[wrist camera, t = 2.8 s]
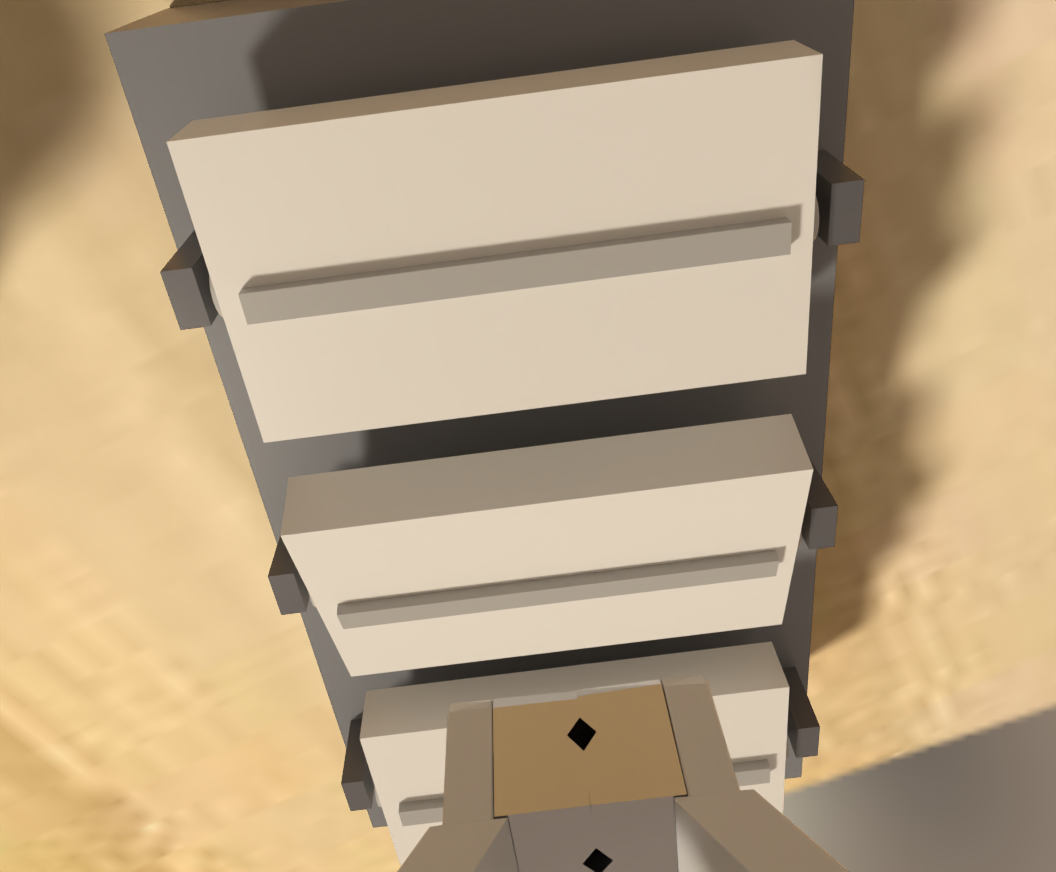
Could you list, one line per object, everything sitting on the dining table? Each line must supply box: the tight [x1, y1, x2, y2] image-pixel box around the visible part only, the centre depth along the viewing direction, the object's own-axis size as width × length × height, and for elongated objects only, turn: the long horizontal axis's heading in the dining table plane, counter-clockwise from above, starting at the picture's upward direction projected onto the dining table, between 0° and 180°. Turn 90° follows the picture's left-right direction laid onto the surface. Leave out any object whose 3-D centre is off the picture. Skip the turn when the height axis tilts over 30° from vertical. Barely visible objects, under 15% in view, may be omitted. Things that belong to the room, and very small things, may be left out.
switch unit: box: [105, 0, 864, 828], centre depth 24 cm, size 24×14×6 cm, turn 7°
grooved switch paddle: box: [360, 642, 789, 866], centre depth 25 cm, size 6×11×2 cm, turn 97°
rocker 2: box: [280, 414, 813, 677], centre depth 21 cm, size 6×11×2 cm, turn 96°
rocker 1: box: [167, 40, 823, 443], centre depth 17 cm, size 6×11×2 cm, turn 97°
